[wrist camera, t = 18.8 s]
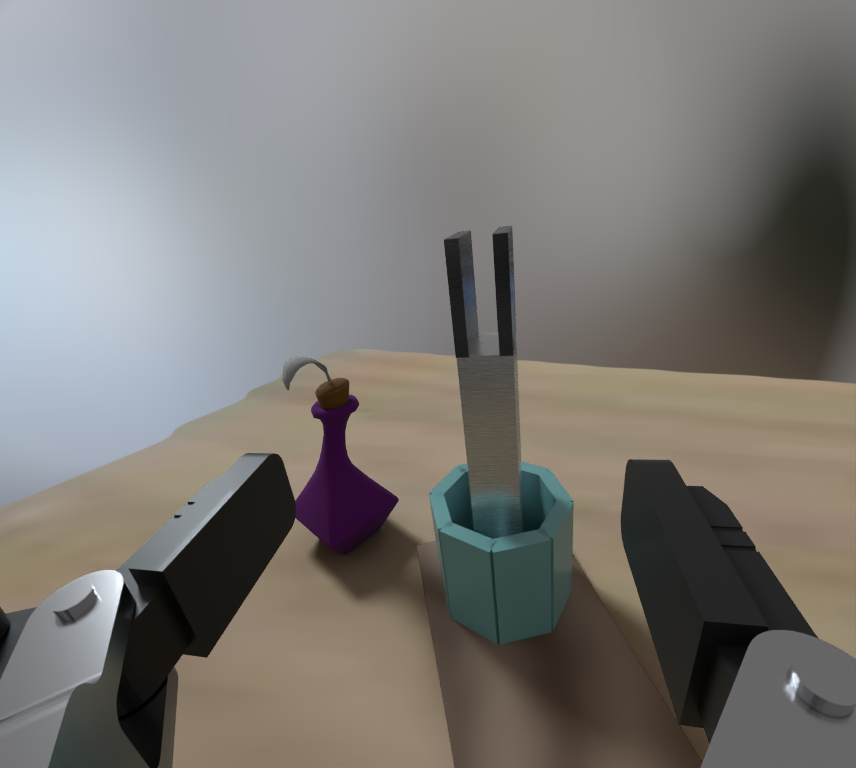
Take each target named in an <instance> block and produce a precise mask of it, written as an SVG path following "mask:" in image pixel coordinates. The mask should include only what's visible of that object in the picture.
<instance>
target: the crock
mask: <svg viewBox="0 0 856 768" xmlns="http://www.w3.org/2000/svg"><path fill="white" fill-rule="evenodd" d="M521 467H522V492H523V518H524V533H519V534H514V535H510V536H505V537H500V538H496V539H491V538H489V537H486V536H484V535H481V534H479V533H477V532H474V524H473V514H472V504H471V495H470V485H469V475H468V465H467V464H462V465H458V467H457V466H456V467H455V468H454V469H453V470H452V471H451V472H450V473H449V474H448V475H447V476H446V477H445V478H444V479H443V480H442V481H441V482H440V483H439V484H438V485H437V486H436V487H435V488H434V489H433V490H432V491H431V492H430V494H429V498H430V505H431V511H432V518H433V525H434V531H435V538H436V545H437V551H438V558H439V564H440V571H441V577H442V582H443V586H444V591H445V595H446V599H447V604H448V608H449V613H450V616H452V619H454V620H455V621H457V622H459V623H461V624H462V625H464V626H466V627H468V628H469V629H471V630H473V631H475V632H476V633H478V634H480V635H482V636H483V637H485V638H487V639H489V640H491V641H492V642H494V643H496V644H497V643H498V641H499V643H500V645H501V644H505V643H509V642H513V641H517V640H522V639H526V638H530V637H534V636H538V635H542V634H547V633H551V629H552V630H554V629H555V626H556V624H557V622H558V620H559V618H560V615H561V613H562V611H563V609H564V606H565V604H566V602H567V600H568V598H569V595H570V593H571V590H572V547H573V504H574V503H573V500H572V498H571V497H570V496H569V494H568V493H567V492H566V490H565V489H564V488H563V486H562V485H561V484H560V482H559V481H558V480H557V478H556V477H555V476H554V474H553V473H552V472H551V470H548V469H547V468H544V467H540V466H536V465H533V464H529V463H525V462H522V461H521Z"/></svg>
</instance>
